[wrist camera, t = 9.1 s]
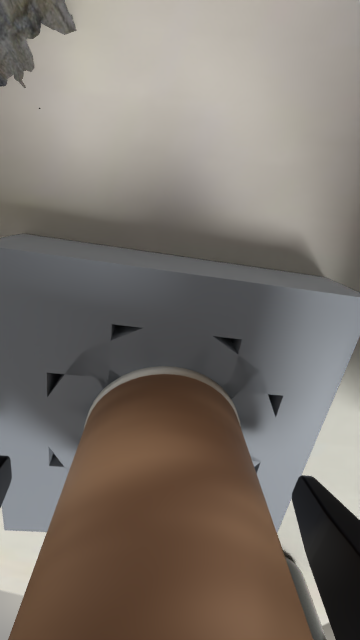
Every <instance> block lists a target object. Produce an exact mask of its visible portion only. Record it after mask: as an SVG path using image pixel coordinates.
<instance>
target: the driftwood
mask: <svg viewBox="0 0 360 640" xmlns="http://www.w3.org/2000/svg"><path fill="white" fill-rule="evenodd" d="M41 23H42V24H44V25H46V26H48V27H49V28H51V29H53V30H57V31H58V32H60V33H62V34H64V35H65V34H68V33H71V32H74V31H77V30H76V29H75V25H74V22H73V18H72V15H70V14H69V12H68V10H67V7H66V4H65V0H0V86H6V84H7V79H8V78H9V77H11V76H12V75H13V74H14V78H15V79H16V80H17V81H19V82H20V84H21V85H22V86H23V87H24V88H26V87H25V85H24V83H23V82H22V79H23V71H26V70H27V71H30V72H32V70H33V69H34V62H33V56H32V54H31V51H30V49H29V47H28V44H27V41H26V39H27V38H28V39H33V38H35V37H36V36H37V35H39V33H40V28H41ZM39 109H40V108H39Z"/></svg>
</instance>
